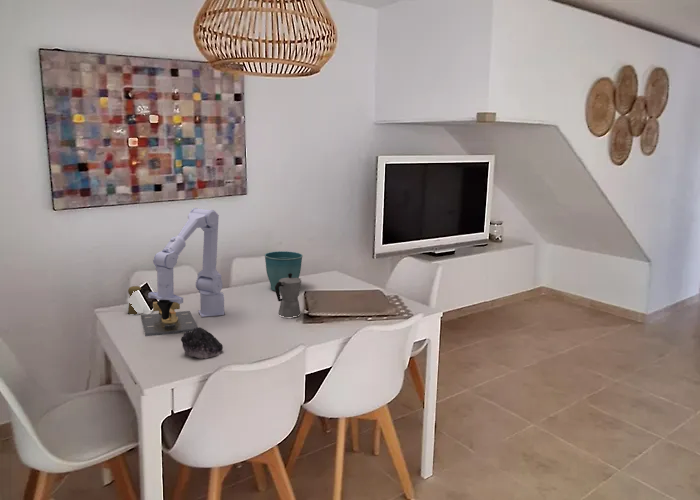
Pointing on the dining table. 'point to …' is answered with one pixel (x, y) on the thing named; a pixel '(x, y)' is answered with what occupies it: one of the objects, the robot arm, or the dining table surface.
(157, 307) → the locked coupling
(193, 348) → the crystal cluster
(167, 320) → the brass lever handle
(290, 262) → the flower pot
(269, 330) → the dining table surface
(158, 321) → the plate
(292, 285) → the coffeepot
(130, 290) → the cork
